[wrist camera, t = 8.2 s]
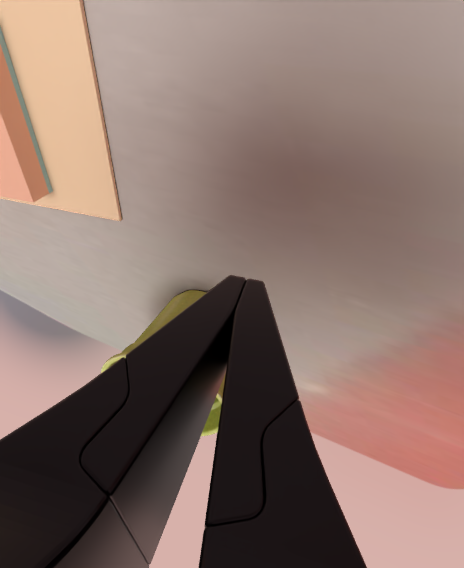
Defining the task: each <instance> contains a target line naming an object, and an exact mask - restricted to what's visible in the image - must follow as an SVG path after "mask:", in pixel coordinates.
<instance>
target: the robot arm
mask: <svg viewBox="0 0 464 568" xmlns="http://www.w3.org/2000/svg"><path fill="white" fill-rule="evenodd" d="M225 373H226V374H225ZM224 375H225V382H224V389H223V396H222V403H221V411H220V418H219V425H218V432H217V440H216V447H215V454H214V461H213V469H212V476H211V483H210V491H209V498H208V506H207V512H206V519H205V530H204V534H203V542H202V548H201V555H200V562H199V568H367V567H366V565H365V563H364V560H363V558H362V555H361V553H360V551H359V548H358V546H357V544H356V542H355V539H354V537H353V535H352V532H351V530H350V528H349V526H348V523H347V521H346V519H345V516H344V514H343V512H342V510H341V507H340V505H339V503H338V500H337V499H336V496H335V494H334V491H333V489H332V487H331V484H330V482H329V480H328V477H327V475H326V473H325V470H324V467H323V465H322V462H321V460H320V458H319V455H318V452H317V450H316V448H315V444H314V441H313V439H312V436H311V433H310V430H309V427H308V424H307V421H306V418H305V415H304V411H303V408H302V405H301V402H300V401H299V396H298V392H297V389H296V386H295V383H294V379H293V376H292V373H291V369H290V366H289V363H288V360H287V356H286V353H285V350H284V346H283V343H282V340H281V337H280V333H279V330H278V327H277V324H276V320H275V317H274V314H273V310H272V307H271V304H270V301H269V297H268V294H267V291H266V287H265V284H264V282H263V281H259V280H254V279H247V280H246V279H245V278H244V277H239V276H234V275H230V276H228V277H227V278H225V279H224V280H223V281H221V282H220V283H219V284H217V285H216V286H215V287H214V288H212V289H211V290H210V291H208V292H207V293H206V294H204V295H203V296H202V297H201V298H199V299H198V300H197V301H195V302H194V303H193V304H191V305H190V306H189V307H188V308H186V309H185V310H184V311H182V312H181V313H180V314H178V315H177V316H176V317H174V318H173V319H172V320H171V321H169V322H168V323H167V324H165V325H164V326H163V327H161V328H160V329H159V330H158V331H156V332H155V333H154V334H152V335H151V336H150V337H148V338H147V339H146V340H145V341H143V342H142V343H141V344H139V345H138V346H137V347H135V348H134V349H133V350H132V351H130V352H129V353H128V354H126V358H125V357H122V358H121V359H120V360H118V361H117V362H116V363H114V364H113V365H112V366H110V367H109V368H108V369H106V370H105V371H104V372H102V373H101V374H100V375H98V376H97V377H95V378H94V379H93V380H91V381H90V382H89V383H87V384H86V385H85V386H83V387H82V388H80V389H79V390H77V391H76V392H74V393H73V394H71V395H69V396H68V397H66V398H65V399H63V400H62V401H60V402H59V403H57V404H56V405H54V406H53V407H51V408H50V409H48V410H46V411H45V412H43V413H42V414H40V415H39V416H37V417H35V418H34V419H32V420H31V421H29V422H27V423H26V424H25V425H23V426H21V427H20V428H18V429H16V430H15V431H13V432H12V433H10V434H8V435H7V436H5V437H4V438H2V439H1V440H0V568H149V565H148V564H150V563H151V561H152V559H153V556H154V553H155V551H156V548H157V546H158V543H159V540H160V538H161V536H162V533H163V530H164V528H165V525H166V523H167V520H168V518H169V515H170V513H171V510H172V507H173V505H174V503H175V500H176V497H177V495H178V492H179V490H180V487H181V485H182V482H183V479H184V477H185V474H186V472H187V469H188V467H189V464H190V462H191V459H192V456H193V454H194V452H195V449H196V447H197V444H198V442H199V439H200V436H201V434H202V431H203V429H204V426H205V424H206V421H207V419H208V416H209V414H210V411H211V408H212V406H213V403H214V401H215V398H216V396H217V393H218V391H219V388H220V386H221V383H222V381H223V378H224Z"/></svg>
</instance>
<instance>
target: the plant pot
mask: <svg viewBox="0 0 464 568" xmlns="http://www.w3.org/2000/svg"><path fill="white" fill-rule="evenodd" d="M204 294H206V292H202V291H196V290H190V291H186V292H183V293H181V294H179V295H177V296H175V297H174V298H173V299H172V300H171V301H170V302H169V303H168V305H167V306H166V307H165V308H164V309H163V310H162V312H161V313H160V314H159V315H158V316H157V317H156V319H155V320H154V321H153V322H152V323H151V324H150V325H149V327H148V328H147V329H146V330H145V331H144V332H143V333H142V335H141V336H140V337H139V338H138V339H137V340H136V341H135V343H133V344H131V345H129V346H128V347H127V348H125V349H124V351H123V352H122V353H120V354H117V355H115V356H113V357H111V358H110V359H108V360H107V361H106V363H105V364H104V365H103V367H102V370H101V373H102V372H104V371H105V370H106V369H108V368H109V367H110V366H112V365H113V364H114V363H116V362H117V361H118V360H120V359H121V358H122V357H125V358H126V354H128V353H129V352H130V351H132V350H133V349H134V348H135V347H137V346H138V345H139V344H141V343H142V342H143V341H145V340H146V339H147V338H148V337H150V336H151V335H152V334H154V333H155V332H156V331H158V330H159V329H160V328H161V327H163V326H164V325H165V324H167V323H168V322H169V321H171V320H172V319H173V318H174V317H176V316H177V315H178V314H180V313H181V312H182V311H184V310H185V309H186V308H188V307H189V306H190V305H191V304H193V303H194V302H195V301H197V300H198V299H199V298H201V297H202V296H203V295H204ZM225 374H226V373H225ZM224 382H225V375H224V378H223V381H222V383H221V386H220V388H219V391H218V393H217V396H216V398H215V401H214V403H213V406H212V408H211V411H210V414H209V416H208V419H207V421H206V424H205V426H204V429H203V431H202V434H201V436H207V435H211V434H215V433H217V432H218V425H219V418H220V411H221V403H222V396H223V389H224Z"/></svg>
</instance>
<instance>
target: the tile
mask: <svg viewBox="0 0 464 568" xmlns="http://www.w3.org/2000/svg"><path fill="white" fill-rule="evenodd" d="M52 191H53V190H52V187H51V184H50V181H49V177H48V174H47V171H46V168H45V165H44V162H43V159H42V155H41V152H40V149H39V146H38V143H37V140H36V137H35V133H34V130H33V127H32V124H31V121H30V118H29V115H28V111H27V108H26V105H25V102H24V99H23V96H22V93H21V89H20V86H19V83H18V80H17V77H16V74H15V71H14V67H13V64H12V61H11V58H10V55H9V52H8V49H7V45H6V42H5V39H4V36H3V33H2V30H1V27H0V196H1V197H6V198H12V199H17V200H22V201H28V202H33V203H34V202H36V201H37V200H39V199H41V198H42V197H44V196H46V195H47V194H49V193H51V192H52Z"/></svg>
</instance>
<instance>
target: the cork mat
mask: <svg viewBox="0 0 464 568" xmlns="http://www.w3.org/2000/svg"><path fill="white" fill-rule="evenodd" d="M0 27H1V30H2V33H3V36H4V39H5V42H6V45H7V49H8V52H9V55H10V58H11V61H12V64H13V67H14V71H15V74H16V77H17V80H18V83H19V86H20V89H21V93H22V96H23V99H24V102H25V105H26V108H27V111H28V115H29V118H30V121H31V124H32V127H33V130H34V133H35V137H36V140H37V143H38V146H39V149H40V152H41V155H42V159H43V162H44V165H45V168H46V171H47V174H48V177H49V181H50V184H51V187H52V190H53V191H52V192H51V193H49V194H47V195H46V196H44V197H42V198H41V199H39V200H37V201H36V202H34V203H33V202H28V201H22V200H17V199H12V198H6V197H1V196H0V198H1V199H6V200H11V201H17V202H22V203H27V204H32V205H38V206H43V207H48V208H54V209H59V210H64V211H69V212H75V213H80V214H85V215H91V216H96V217H101V218H106V219H112V220H117V221H121V220H122V217H121V211H120V205H119V200H118V194H117V189H116V183H115V178H114V172H113V167H112V161H111V155H110V150H109V144H108V139H107V133H106V128H105V122H104V117H103V111H102V105H101V100H100V94H99V89H98V83H97V78H96V72H95V66H94V61H93V55H92V50H91V44H90V39H89V33H88V28H87V22H86V16H85V11H84V5H83V0H0Z"/></svg>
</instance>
